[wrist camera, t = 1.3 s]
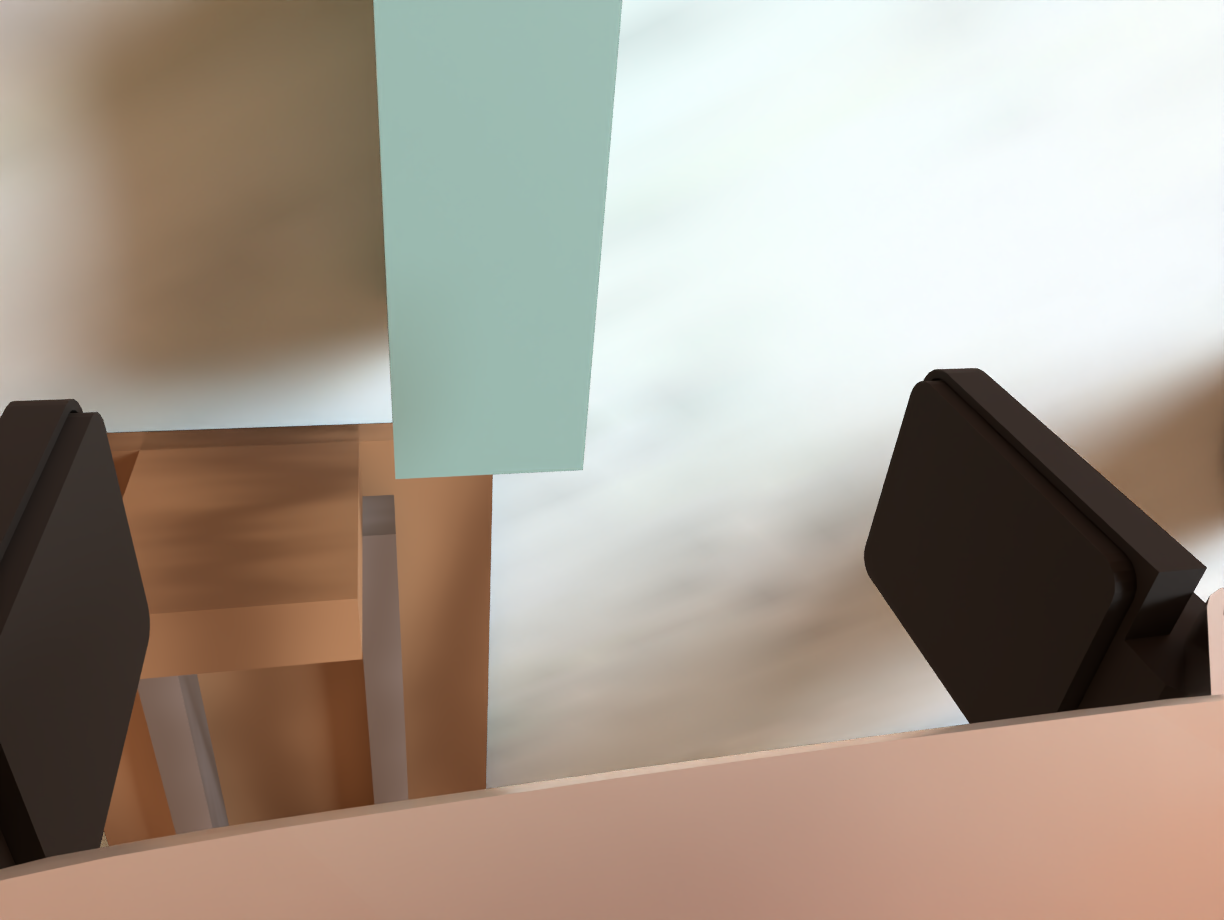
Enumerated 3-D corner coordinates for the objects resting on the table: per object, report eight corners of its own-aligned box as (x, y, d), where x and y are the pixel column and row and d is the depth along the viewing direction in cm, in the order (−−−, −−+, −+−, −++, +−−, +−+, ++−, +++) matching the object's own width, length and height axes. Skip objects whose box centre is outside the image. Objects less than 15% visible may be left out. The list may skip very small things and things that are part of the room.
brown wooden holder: (489, 419, 30) (524, 585, 23) (482, 818, 41) (504, 1007, 34) (-8, 437, 27) (-126, 635, 20) (127, 864, 38) (78, 1082, 31)
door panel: (541, -89, 23) (626, -44, 15) (525, 300, 28) (582, 470, 21) (368, -103, 22) (370, -64, 14) (386, 301, 27) (395, 479, 20)
